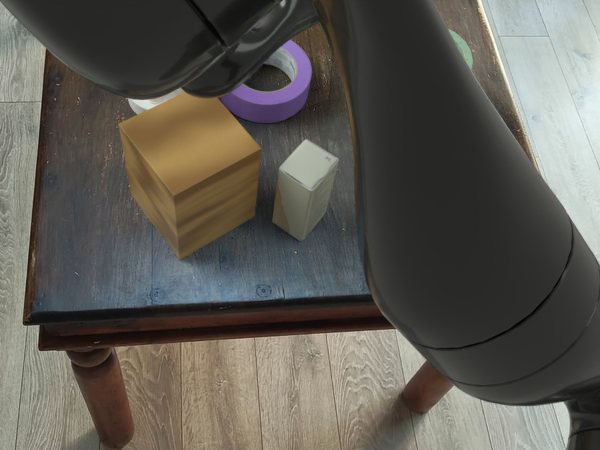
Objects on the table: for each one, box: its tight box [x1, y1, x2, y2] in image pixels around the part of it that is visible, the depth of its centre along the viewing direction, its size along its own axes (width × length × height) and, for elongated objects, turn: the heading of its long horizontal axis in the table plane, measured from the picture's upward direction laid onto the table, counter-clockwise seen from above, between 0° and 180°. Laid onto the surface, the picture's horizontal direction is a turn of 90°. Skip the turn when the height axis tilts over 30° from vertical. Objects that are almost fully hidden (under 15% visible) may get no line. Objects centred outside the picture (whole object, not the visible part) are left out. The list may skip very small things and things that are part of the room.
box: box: [271, 138, 340, 242], centre depth 76 cm, size 5×4×11 cm
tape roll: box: [219, 39, 313, 124], centre depth 88 cm, size 12×12×4 cm
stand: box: [118, 92, 262, 261], centre depth 74 cm, size 10×10×13 cm
